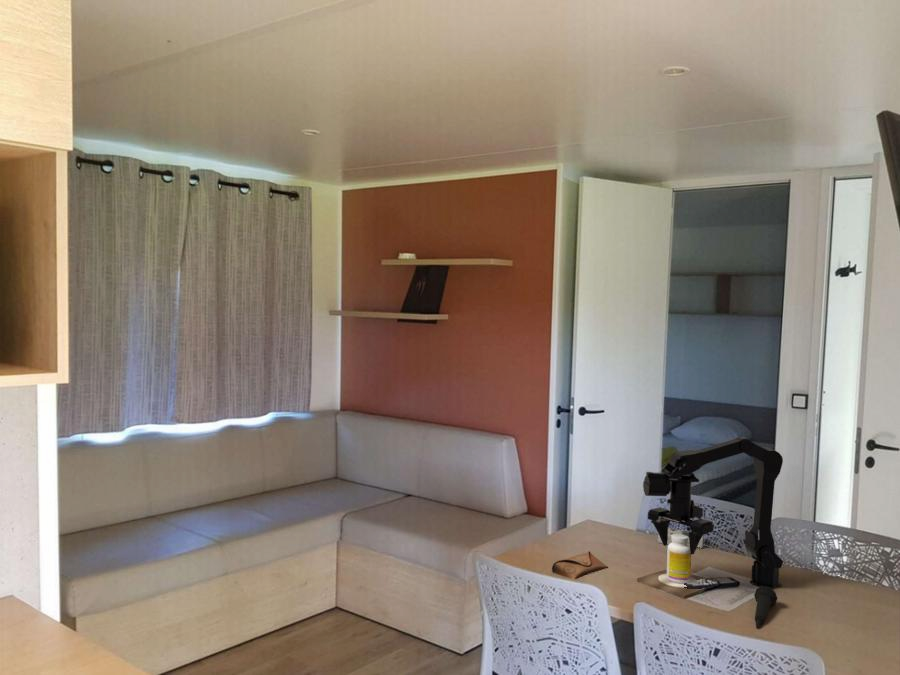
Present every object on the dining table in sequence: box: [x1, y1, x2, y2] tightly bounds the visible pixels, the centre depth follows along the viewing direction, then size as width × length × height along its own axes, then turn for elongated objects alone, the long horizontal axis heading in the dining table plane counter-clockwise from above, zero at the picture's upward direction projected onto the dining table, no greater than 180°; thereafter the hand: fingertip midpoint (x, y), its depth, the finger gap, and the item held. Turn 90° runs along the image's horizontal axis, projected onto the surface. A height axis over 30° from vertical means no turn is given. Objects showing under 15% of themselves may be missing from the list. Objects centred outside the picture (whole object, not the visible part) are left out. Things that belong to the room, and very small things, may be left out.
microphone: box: [753, 586, 778, 629], centre depth 193 cm, size 6×6×20 cm
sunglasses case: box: [551, 550, 609, 581], centre depth 224 cm, size 18×7×7 cm
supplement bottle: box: [666, 534, 692, 583], centre depth 214 cm, size 7×7×13 cm
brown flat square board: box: [636, 568, 707, 599], centre depth 214 cm, size 16×17×1 cm
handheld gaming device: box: [657, 527, 705, 549], centre depth 254 cm, size 9×15×4 cm, turn 69°
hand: (678, 549), depth 214 cm, fingers open, 9 cm apart
